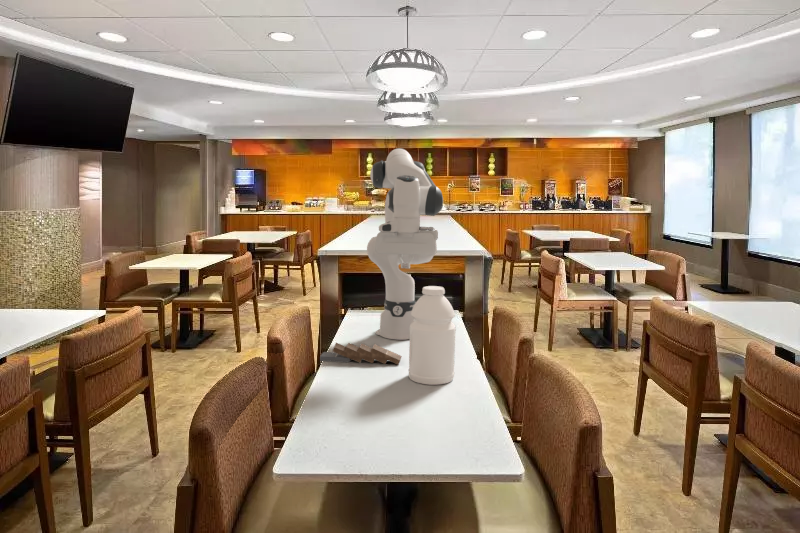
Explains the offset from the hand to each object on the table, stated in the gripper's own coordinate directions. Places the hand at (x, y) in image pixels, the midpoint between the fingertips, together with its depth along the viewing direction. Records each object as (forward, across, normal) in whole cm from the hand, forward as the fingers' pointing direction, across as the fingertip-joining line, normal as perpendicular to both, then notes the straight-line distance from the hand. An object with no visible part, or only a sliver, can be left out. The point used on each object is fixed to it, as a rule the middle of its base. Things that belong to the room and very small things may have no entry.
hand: (405, 268), depth 192 cm
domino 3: (+30, +5, +4) cm, 31 cm away
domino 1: (+30, +13, +4) cm, 33 cm away
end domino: (+30, +17, +4) cm, 35 cm away
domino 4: (+30, +1, +4) cm, 30 cm away
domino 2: (+30, +9, +4) cm, 32 cm away
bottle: (+31, -11, +17) cm, 37 cm away
